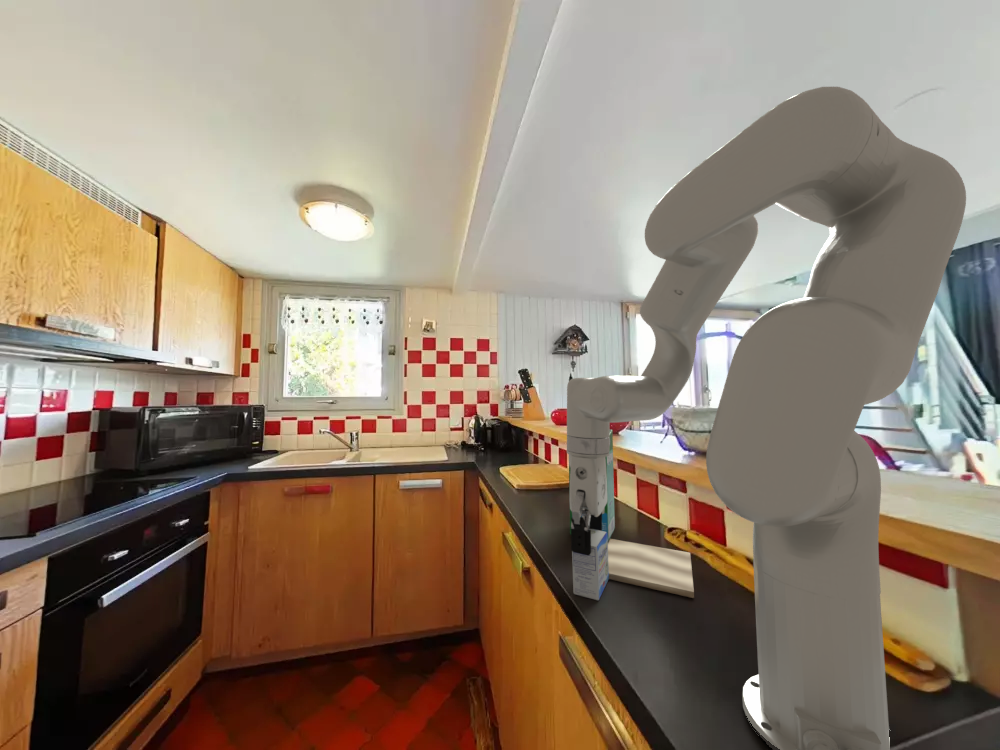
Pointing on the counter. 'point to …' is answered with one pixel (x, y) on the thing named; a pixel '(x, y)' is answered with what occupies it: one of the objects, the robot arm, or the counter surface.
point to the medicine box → (592, 567)
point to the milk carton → (608, 510)
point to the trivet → (651, 567)
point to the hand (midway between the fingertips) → (587, 541)
